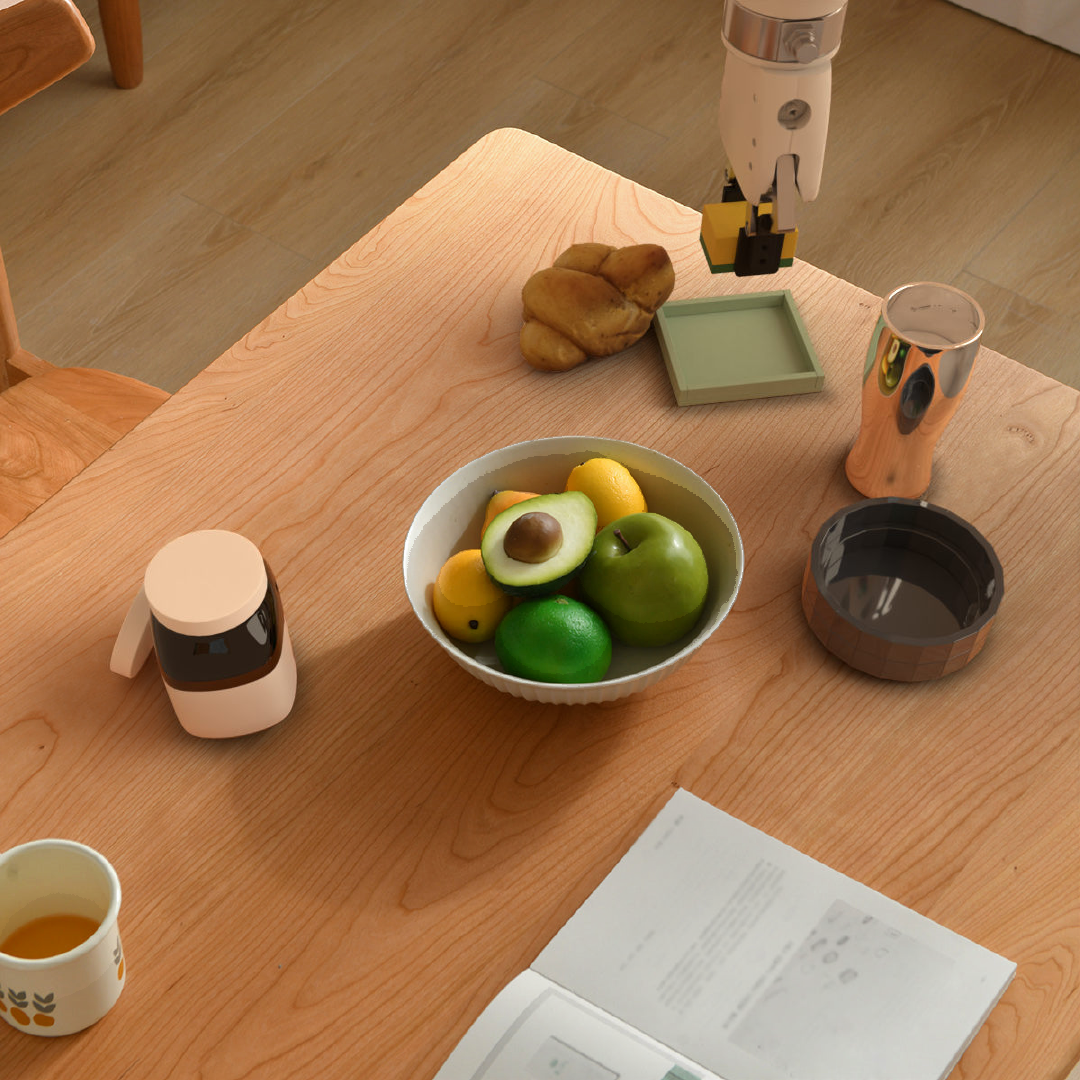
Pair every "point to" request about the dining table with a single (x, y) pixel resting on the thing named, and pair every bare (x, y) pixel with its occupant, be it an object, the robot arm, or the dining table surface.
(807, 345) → the sponge tray
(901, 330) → the beer glass
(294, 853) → the dining table surface
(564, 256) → the bread roll
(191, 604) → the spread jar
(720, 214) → the sponge
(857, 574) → the bowl
